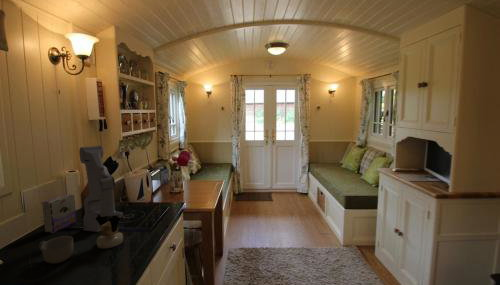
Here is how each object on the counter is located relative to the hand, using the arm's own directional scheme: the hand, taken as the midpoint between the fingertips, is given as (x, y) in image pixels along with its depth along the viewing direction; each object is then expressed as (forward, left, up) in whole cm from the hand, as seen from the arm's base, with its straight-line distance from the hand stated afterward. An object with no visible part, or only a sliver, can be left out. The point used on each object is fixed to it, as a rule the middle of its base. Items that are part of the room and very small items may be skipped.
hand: (109, 230), depth 125 cm
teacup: (-12, -17, -6) cm, 22 cm away
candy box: (-38, +9, -6) cm, 40 cm away
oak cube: (0, 0, -2) cm, 2 cm away
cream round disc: (0, 0, -6) cm, 6 cm away
